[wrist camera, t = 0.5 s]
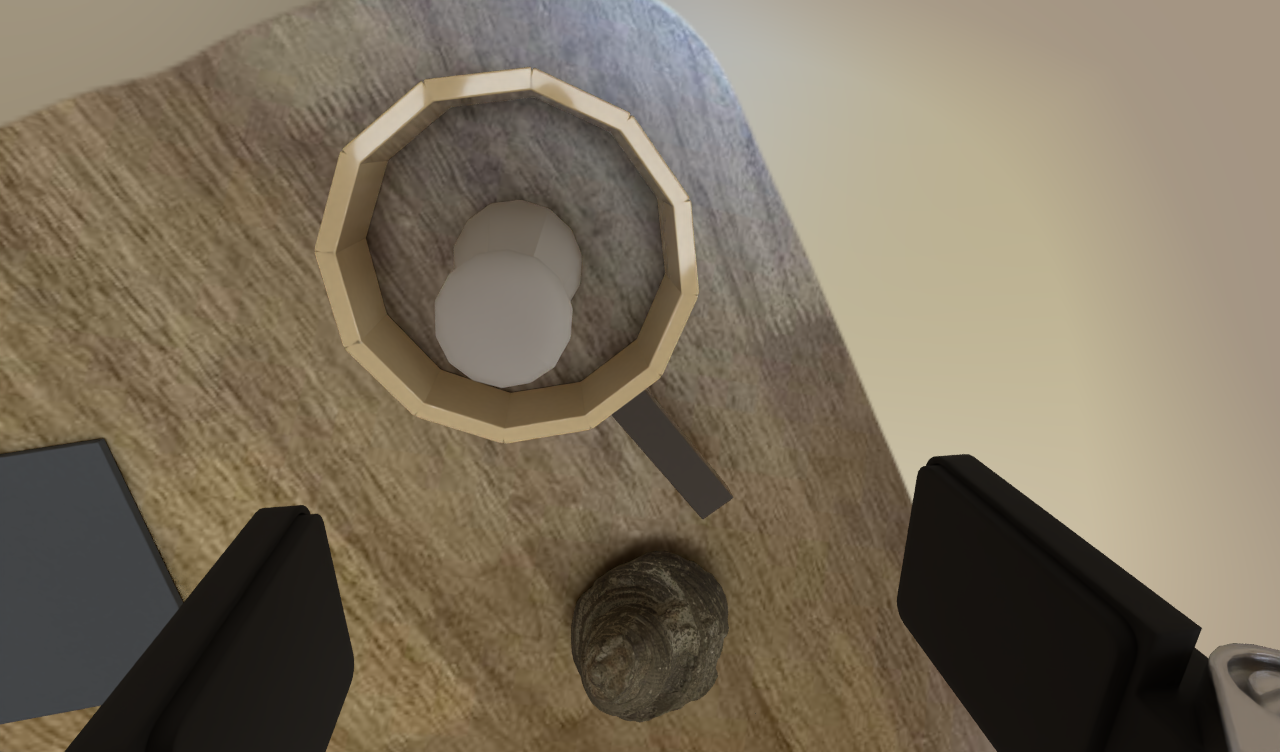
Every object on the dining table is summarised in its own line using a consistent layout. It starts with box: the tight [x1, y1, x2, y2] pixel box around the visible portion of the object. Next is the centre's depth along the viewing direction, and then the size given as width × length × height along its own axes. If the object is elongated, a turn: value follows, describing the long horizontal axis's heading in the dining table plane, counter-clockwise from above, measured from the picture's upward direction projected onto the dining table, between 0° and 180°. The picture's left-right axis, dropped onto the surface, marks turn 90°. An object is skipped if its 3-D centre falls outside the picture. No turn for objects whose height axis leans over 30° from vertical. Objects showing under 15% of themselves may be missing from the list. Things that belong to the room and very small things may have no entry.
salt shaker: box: [435, 200, 582, 388], centre depth 25 cm, size 6×6×13 cm
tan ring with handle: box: [315, 67, 733, 519], centre depth 30 cm, size 22×16×4 cm
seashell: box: [571, 551, 756, 722], centre depth 35 cm, size 11×12×10 cm
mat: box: [0, 439, 183, 724], centre depth 33 cm, size 16×12×1 cm
